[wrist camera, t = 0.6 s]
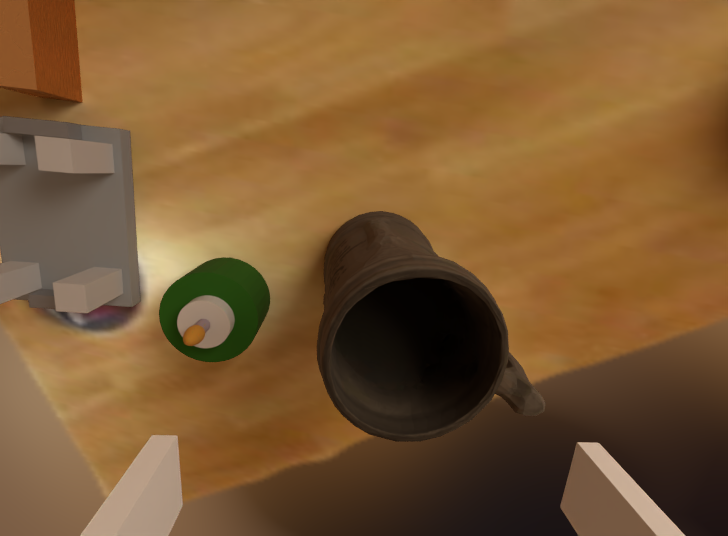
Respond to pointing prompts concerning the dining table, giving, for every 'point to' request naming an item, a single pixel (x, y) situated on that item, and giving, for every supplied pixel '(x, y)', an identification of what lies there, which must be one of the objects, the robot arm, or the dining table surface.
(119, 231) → the jig
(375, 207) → the dining table surface
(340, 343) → the beer stein
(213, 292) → the candle
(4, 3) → the block
